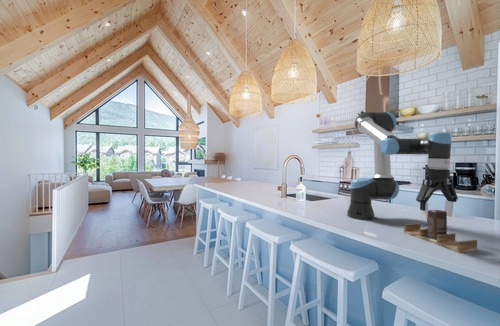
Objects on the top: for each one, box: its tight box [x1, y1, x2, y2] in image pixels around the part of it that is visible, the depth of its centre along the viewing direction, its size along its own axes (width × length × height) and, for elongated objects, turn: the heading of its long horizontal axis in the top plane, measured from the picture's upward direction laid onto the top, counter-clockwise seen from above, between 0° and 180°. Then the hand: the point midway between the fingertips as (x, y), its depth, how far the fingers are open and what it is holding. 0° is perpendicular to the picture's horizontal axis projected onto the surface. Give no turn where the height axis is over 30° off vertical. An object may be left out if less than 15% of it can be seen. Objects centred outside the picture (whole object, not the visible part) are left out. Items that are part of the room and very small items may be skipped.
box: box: [426, 209, 448, 240], centre depth 101 cm, size 6×4×12 cm
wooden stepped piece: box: [403, 222, 478, 254], centre depth 101 cm, size 24×9×4 cm, turn 13°
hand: (436, 216), depth 102 cm, fingers open, 13 cm apart
